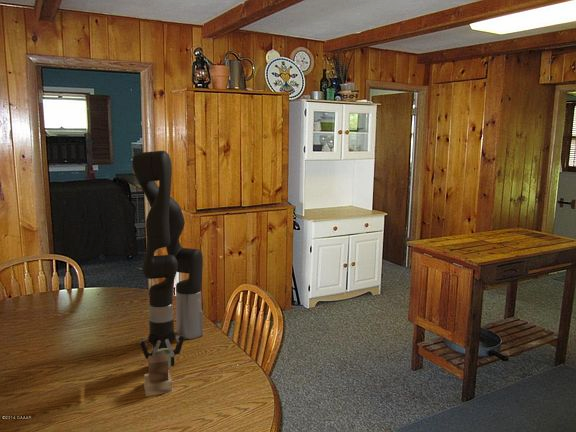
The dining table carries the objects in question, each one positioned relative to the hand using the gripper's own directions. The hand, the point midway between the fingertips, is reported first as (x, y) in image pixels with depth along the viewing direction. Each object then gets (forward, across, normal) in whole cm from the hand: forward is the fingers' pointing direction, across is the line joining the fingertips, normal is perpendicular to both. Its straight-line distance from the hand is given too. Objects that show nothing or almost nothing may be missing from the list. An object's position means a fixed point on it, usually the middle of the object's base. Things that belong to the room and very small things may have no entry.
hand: (162, 367), depth 156 cm
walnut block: (-3, +3, +13) cm, 14 cm away
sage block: (+1, 0, 0) cm, 1 cm away
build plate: (+1, +3, +13) cm, 13 cm away
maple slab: (0, +3, +13) cm, 13 cm away
